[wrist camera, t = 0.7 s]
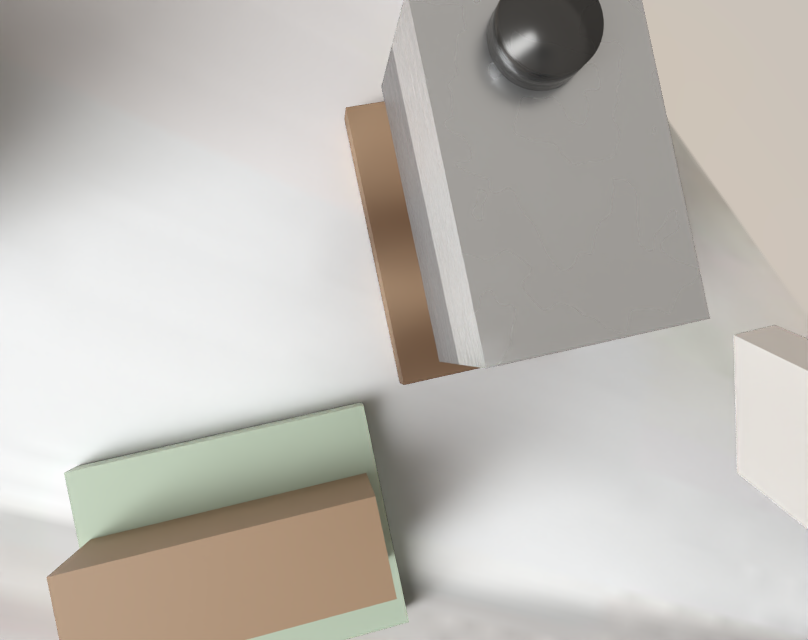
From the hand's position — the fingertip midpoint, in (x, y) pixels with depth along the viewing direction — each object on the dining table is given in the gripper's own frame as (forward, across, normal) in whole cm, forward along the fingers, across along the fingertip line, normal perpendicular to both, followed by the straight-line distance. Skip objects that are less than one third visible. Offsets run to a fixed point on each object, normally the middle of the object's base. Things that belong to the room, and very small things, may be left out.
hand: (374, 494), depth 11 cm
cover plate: (+12, -7, -3) cm, 14 cm away
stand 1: (+17, +7, +11) cm, 21 cm away
